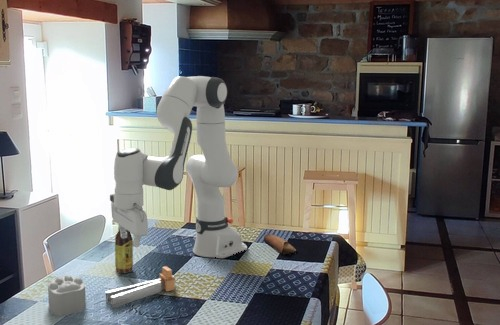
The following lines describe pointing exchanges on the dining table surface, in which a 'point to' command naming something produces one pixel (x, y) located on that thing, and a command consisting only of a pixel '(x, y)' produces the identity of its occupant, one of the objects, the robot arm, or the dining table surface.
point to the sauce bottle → (123, 253)
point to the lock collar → (168, 278)
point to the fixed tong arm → (124, 289)
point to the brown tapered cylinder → (279, 244)
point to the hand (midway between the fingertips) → (129, 242)
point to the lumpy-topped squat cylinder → (66, 295)
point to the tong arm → (135, 294)
